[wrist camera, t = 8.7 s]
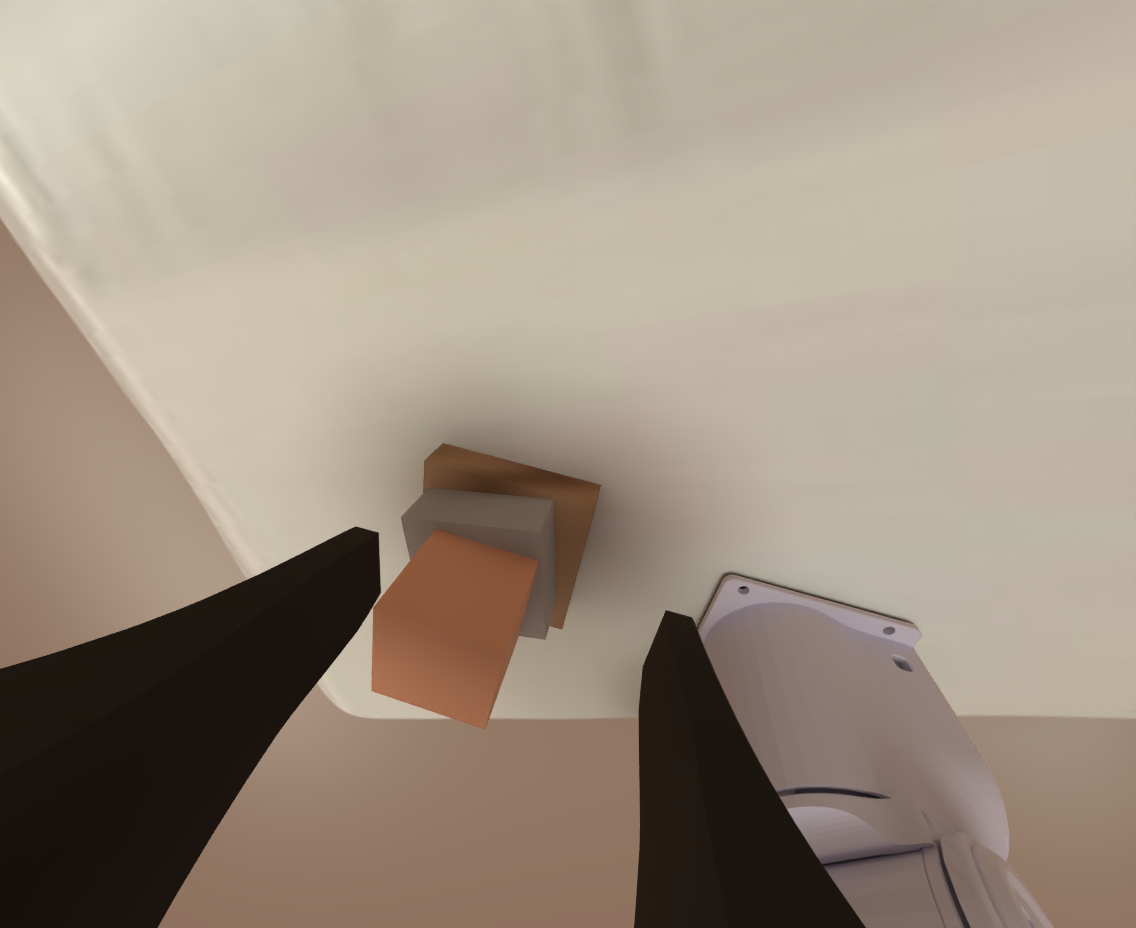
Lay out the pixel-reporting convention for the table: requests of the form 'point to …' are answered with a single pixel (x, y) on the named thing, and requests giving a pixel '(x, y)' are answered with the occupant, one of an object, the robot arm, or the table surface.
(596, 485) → the walnut slab
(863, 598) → the table surface
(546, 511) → the grey slab
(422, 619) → the terracotta cube
